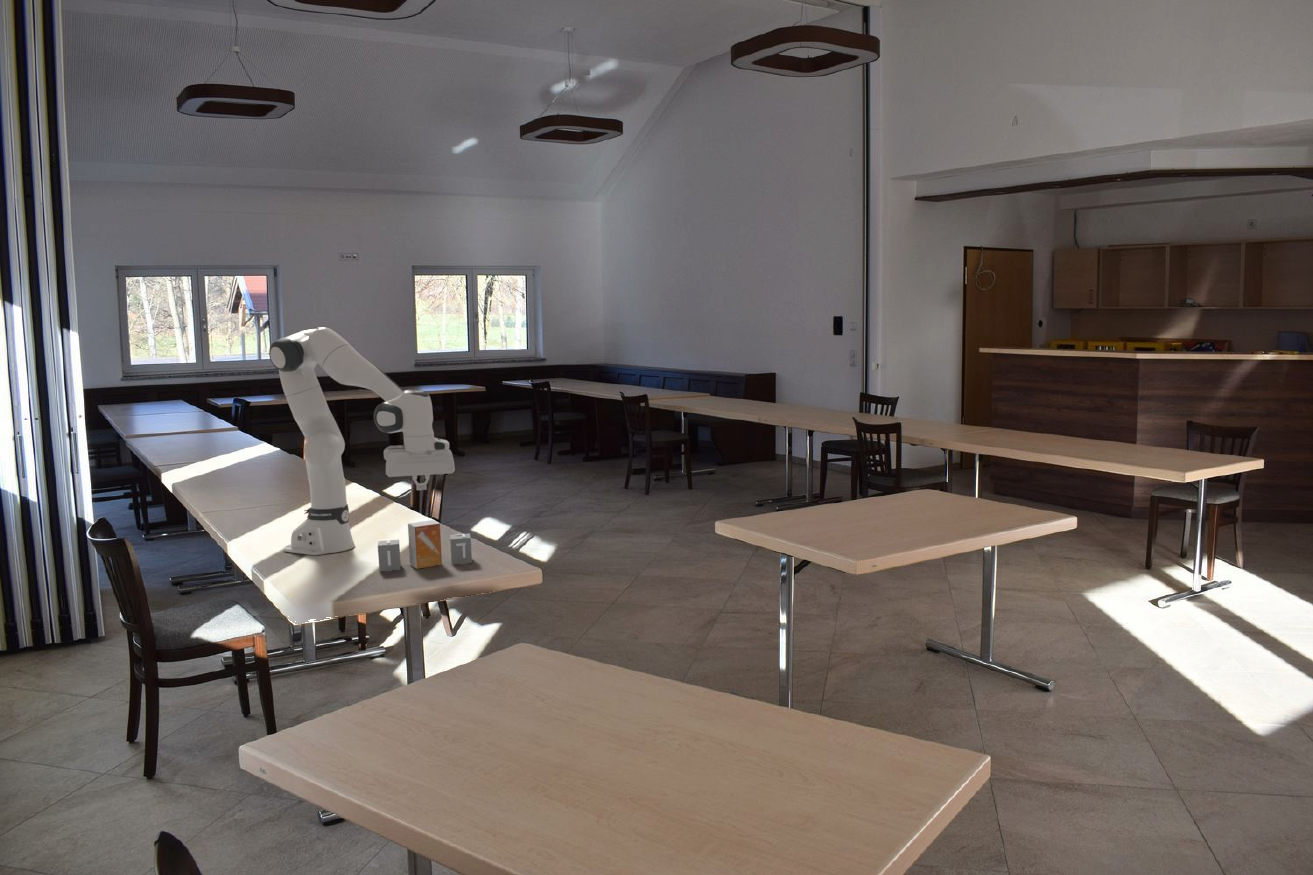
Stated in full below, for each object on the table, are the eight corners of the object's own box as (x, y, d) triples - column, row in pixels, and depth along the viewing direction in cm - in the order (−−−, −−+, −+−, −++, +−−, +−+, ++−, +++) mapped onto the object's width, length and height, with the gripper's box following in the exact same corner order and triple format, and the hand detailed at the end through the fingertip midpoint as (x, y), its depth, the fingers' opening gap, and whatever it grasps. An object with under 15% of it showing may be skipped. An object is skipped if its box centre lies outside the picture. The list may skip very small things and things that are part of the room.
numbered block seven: (451, 565, 293) (450, 538, 292) (451, 560, 299) (449, 534, 298) (472, 563, 295) (470, 537, 294) (471, 558, 301) (469, 532, 300)
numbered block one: (379, 572, 288) (377, 544, 287) (380, 566, 294) (378, 540, 293) (400, 570, 289) (398, 543, 288) (400, 565, 295) (399, 538, 294)
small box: (416, 569, 290) (414, 526, 288) (409, 565, 295) (407, 523, 293) (442, 565, 294) (440, 522, 292) (435, 560, 299) (432, 519, 298)
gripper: (382, 447, 285) (385, 493, 287) (453, 443, 290) (456, 489, 291) (383, 444, 291) (386, 490, 293) (453, 441, 296) (455, 485, 297)
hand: (421, 489), depth 292 cm, fingers closed
